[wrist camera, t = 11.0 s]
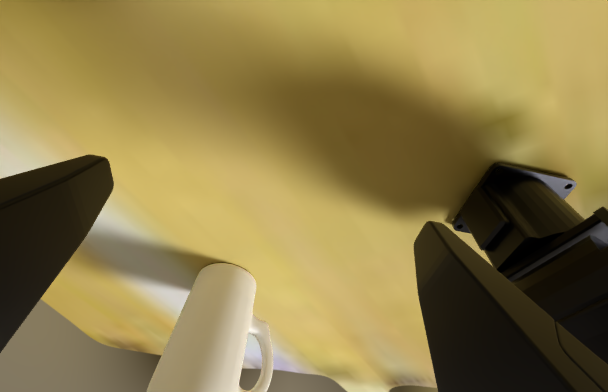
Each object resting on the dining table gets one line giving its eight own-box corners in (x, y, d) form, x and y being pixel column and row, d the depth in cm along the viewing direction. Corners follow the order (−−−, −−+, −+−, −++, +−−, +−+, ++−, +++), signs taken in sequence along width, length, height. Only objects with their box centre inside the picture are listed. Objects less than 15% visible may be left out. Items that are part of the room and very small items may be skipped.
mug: (185, 284, 33) (128, 414, 23) (211, 250, 29) (157, 387, 20) (264, 317, 36) (243, 444, 26) (296, 291, 32) (285, 426, 23)
